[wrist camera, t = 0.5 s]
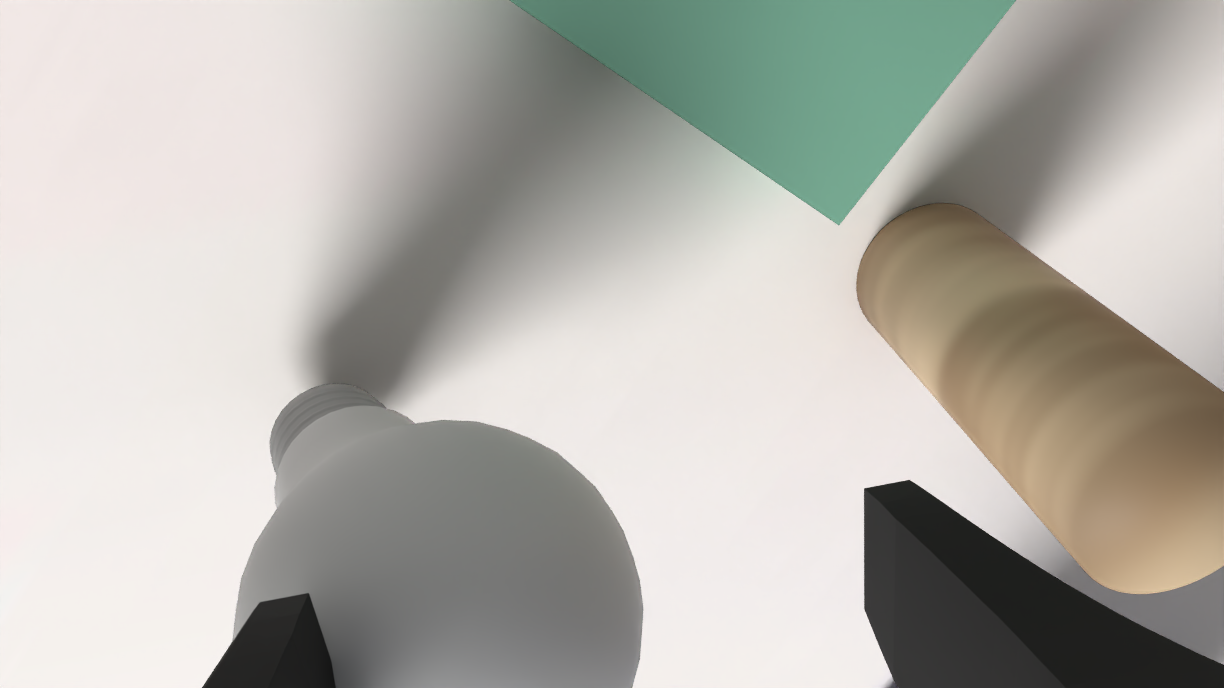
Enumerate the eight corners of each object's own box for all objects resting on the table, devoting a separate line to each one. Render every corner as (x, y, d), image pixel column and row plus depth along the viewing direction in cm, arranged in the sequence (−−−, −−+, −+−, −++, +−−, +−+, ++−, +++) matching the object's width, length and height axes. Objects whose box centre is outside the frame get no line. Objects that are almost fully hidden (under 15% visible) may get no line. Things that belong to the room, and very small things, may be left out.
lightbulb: (250, 242, 20) (431, 471, 11) (499, 349, 24) (791, 591, 15) (118, 510, 21) (189, 939, 12) (381, 576, 24) (594, 948, 15)
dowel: (1027, 250, 23) (1329, 469, 16) (930, 363, 24) (1166, 623, 17) (924, 175, 22) (1195, 370, 14) (826, 297, 23) (1028, 542, 15)
